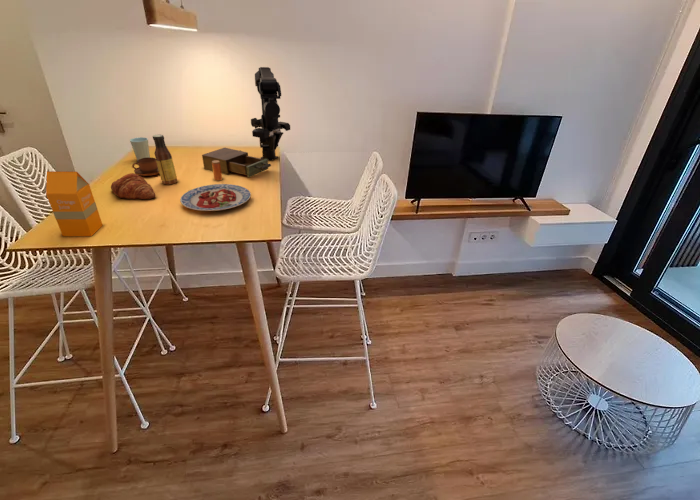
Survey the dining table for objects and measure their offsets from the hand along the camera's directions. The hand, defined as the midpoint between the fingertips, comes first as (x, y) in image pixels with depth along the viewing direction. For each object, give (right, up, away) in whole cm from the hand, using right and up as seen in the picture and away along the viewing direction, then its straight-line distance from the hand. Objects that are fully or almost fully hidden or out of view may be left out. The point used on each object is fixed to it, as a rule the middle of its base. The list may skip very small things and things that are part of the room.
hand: (273, 150), depth 164 cm
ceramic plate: (-18, -24, -17) cm, 35 cm away
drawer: (-12, -7, +11) cm, 18 cm away
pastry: (-52, -21, -13) cm, 58 cm away
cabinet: (-26, -4, +18) cm, 31 cm away
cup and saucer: (-57, -9, +7) cm, 58 cm away
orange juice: (-54, -37, -40) cm, 77 cm away
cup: (-67, 0, +21) cm, 70 cm away
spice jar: (-25, -12, +4) cm, 28 cm away
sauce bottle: (-44, -14, -1) cm, 46 cm away
